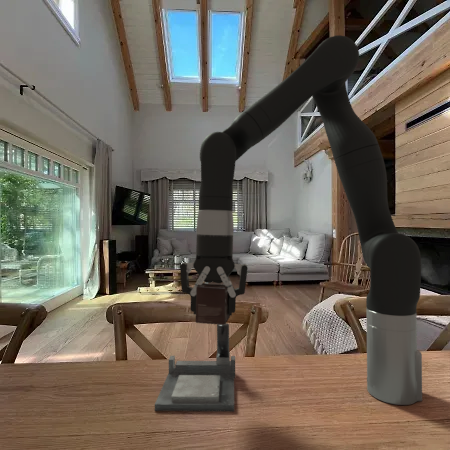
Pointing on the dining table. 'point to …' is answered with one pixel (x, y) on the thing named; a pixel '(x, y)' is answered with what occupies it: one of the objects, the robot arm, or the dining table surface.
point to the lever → (223, 345)
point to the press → (197, 387)
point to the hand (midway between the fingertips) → (212, 313)
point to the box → (212, 303)
